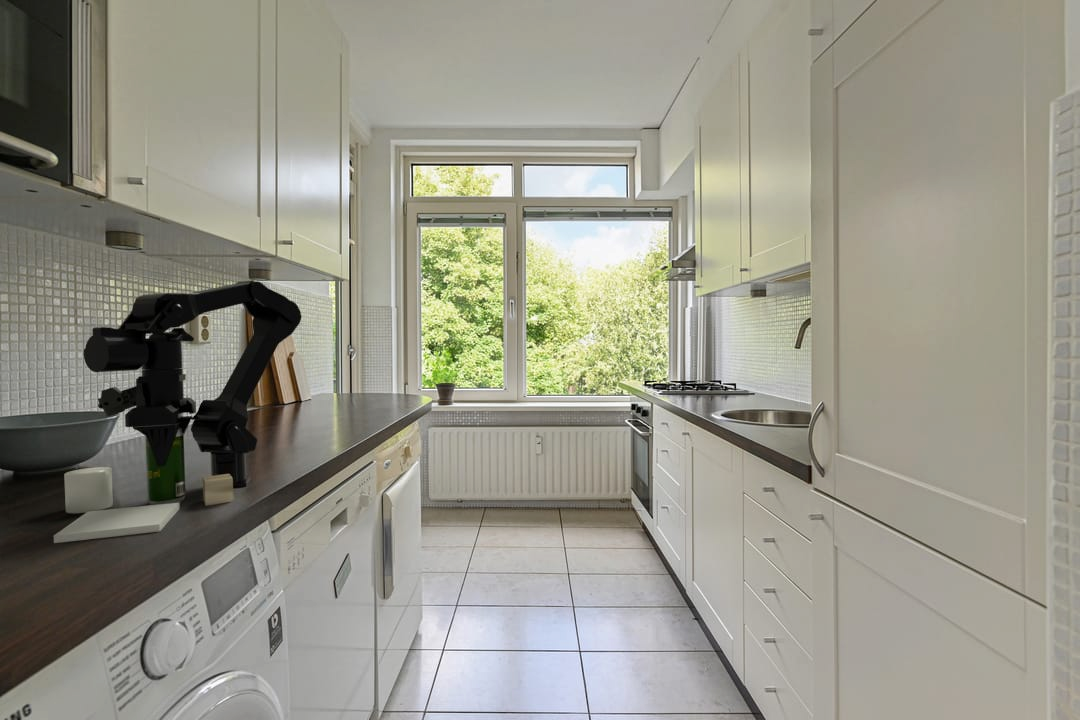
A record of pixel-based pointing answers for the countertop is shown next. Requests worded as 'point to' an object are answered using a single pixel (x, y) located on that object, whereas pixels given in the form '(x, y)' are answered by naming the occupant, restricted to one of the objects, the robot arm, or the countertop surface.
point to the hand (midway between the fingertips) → (165, 462)
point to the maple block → (217, 489)
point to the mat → (118, 522)
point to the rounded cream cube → (88, 489)
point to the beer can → (167, 474)
